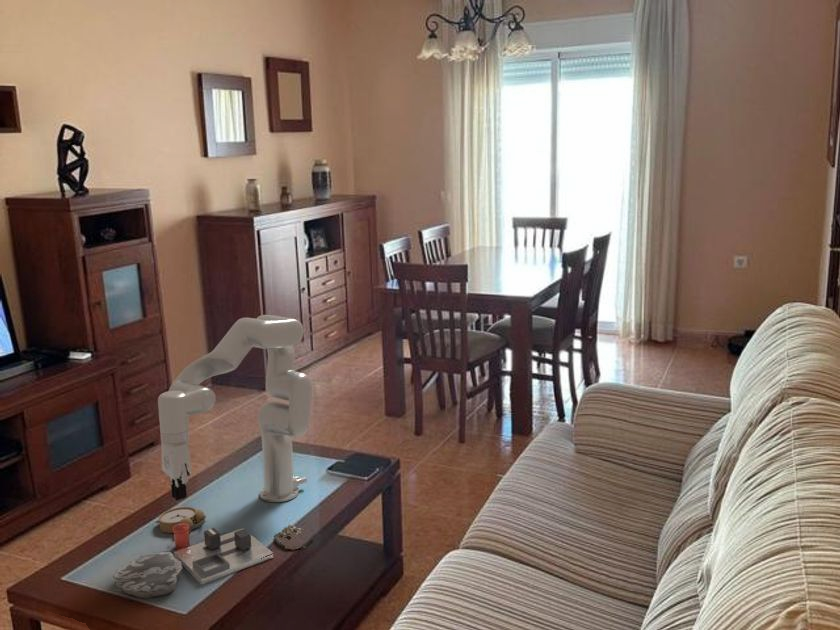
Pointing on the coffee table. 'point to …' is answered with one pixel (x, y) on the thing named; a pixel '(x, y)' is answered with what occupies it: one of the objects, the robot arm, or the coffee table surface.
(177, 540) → the cap
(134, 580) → the brain slice
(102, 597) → the coffee table surface
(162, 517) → the alarm clock
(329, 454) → the coffee table surface
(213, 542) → the block
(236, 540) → the breaker
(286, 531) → the grey rough lump
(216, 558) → the panel
